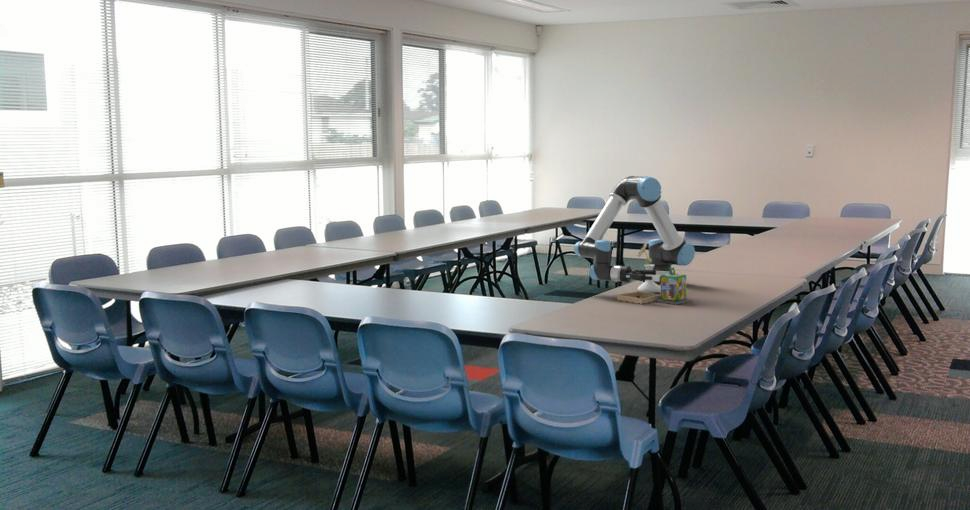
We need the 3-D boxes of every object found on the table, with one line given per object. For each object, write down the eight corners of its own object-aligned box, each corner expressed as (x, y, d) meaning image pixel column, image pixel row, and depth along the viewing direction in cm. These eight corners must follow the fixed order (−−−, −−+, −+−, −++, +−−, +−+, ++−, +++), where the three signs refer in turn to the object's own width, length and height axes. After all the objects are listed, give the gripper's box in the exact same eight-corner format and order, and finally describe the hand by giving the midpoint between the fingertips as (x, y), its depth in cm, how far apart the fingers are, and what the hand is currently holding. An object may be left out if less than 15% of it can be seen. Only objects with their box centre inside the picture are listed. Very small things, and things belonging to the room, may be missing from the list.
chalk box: (678, 301, 421) (678, 269, 419) (659, 300, 426) (660, 268, 424) (687, 298, 428) (687, 267, 426) (668, 297, 433) (669, 265, 432)
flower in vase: (646, 290, 460) (646, 240, 457) (665, 292, 452) (665, 242, 449) (630, 293, 451) (630, 243, 448) (650, 296, 443) (650, 244, 440)
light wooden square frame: (617, 300, 434) (617, 294, 433) (638, 296, 443) (638, 291, 443) (641, 304, 422) (641, 298, 422) (662, 300, 432) (662, 294, 431)
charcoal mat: (655, 301, 428) (655, 299, 428) (671, 298, 435) (671, 296, 435) (675, 304, 419) (675, 302, 419) (691, 301, 426) (691, 299, 426)
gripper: (631, 277, 450) (673, 280, 439) (611, 285, 429) (655, 288, 418) (631, 262, 449) (673, 264, 438) (611, 269, 428) (655, 272, 417)
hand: (664, 276), depth 428 cm, fingers open, 13 cm apart
